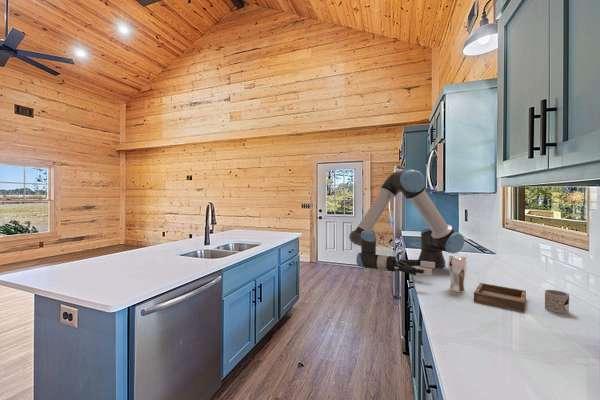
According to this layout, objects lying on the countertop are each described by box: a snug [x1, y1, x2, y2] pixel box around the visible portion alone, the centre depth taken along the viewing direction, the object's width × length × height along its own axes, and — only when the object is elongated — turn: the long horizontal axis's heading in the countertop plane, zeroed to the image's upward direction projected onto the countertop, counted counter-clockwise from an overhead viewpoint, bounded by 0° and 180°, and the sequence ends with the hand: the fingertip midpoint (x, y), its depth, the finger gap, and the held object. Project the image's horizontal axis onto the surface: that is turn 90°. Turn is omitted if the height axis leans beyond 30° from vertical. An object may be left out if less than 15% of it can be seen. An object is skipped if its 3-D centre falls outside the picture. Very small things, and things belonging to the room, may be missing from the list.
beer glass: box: [448, 255, 467, 293], centre depth 126 cm, size 7×7×15 cm
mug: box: [544, 289, 570, 315], centre depth 106 cm, size 10×7×7 cm
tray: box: [473, 282, 527, 313], centre depth 115 cm, size 16×16×4 cm
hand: (433, 268), depth 131 cm, fingers open, 13 cm apart
